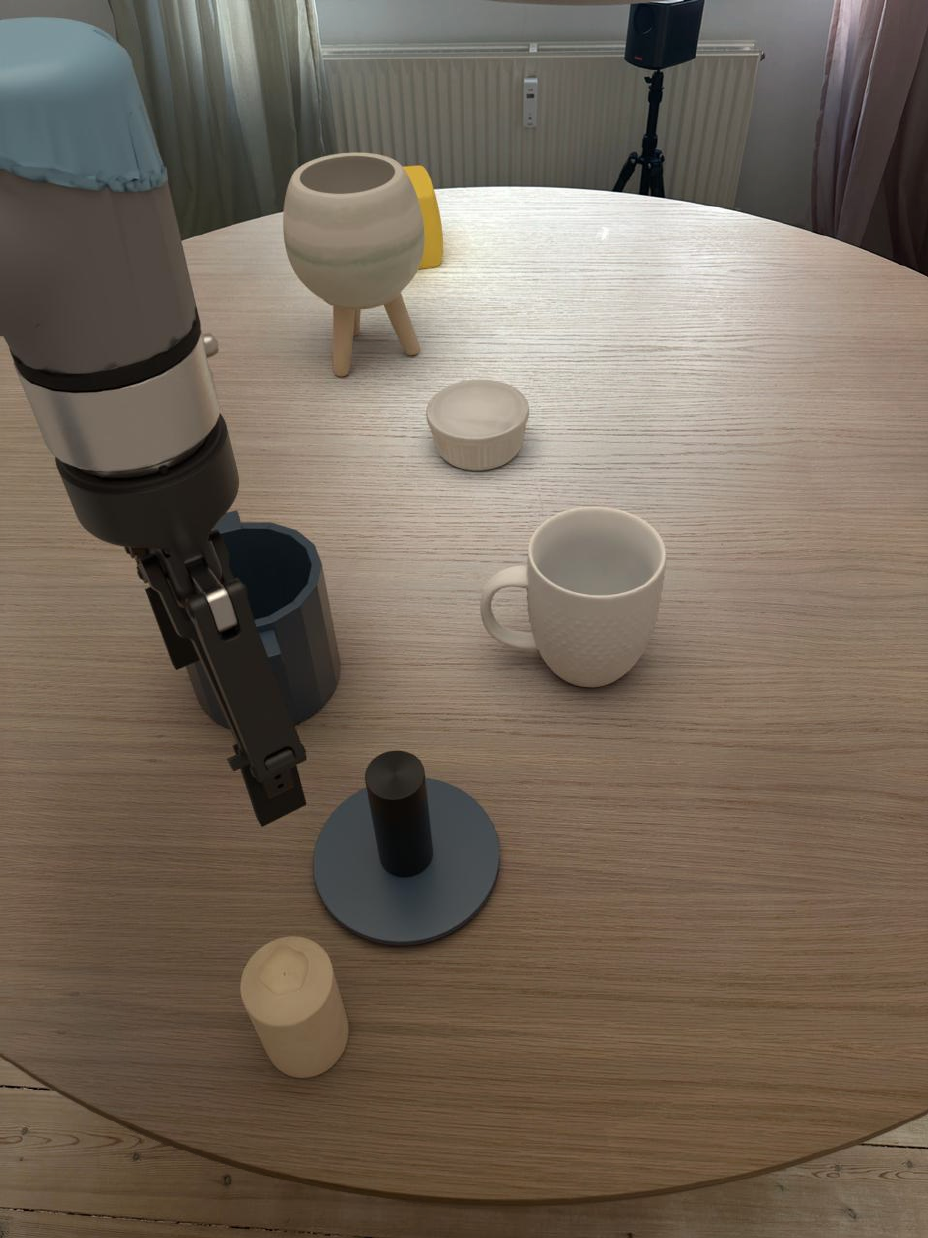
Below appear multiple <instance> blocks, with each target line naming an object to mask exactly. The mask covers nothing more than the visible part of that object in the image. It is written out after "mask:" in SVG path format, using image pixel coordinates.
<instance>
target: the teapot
mask: <svg viewBox="0 0 928 1238" xmlns="http://www.w3.org/2000/svg"><path fill="white" fill-rule="evenodd" d="M402 167H403V168H404V170H405V171H406V173H407V175H408V176H409V178H410V180H411V182H412V184H413V187H414V189H415V192H416V194H417V197H418V201H419V204H420V207H421V212H422V216H423V223H424V232H425V243H424V252H423V257H422V260H421V263H420V266H419V268H418V270H423V269H431V268H437V267H439V266H440V265H441V263H442V259H443V253H444V235H443V234H444V233H443V225H442V218H441V213H440V208H439V203H438V200H437V195H436V192H435V188H434V185H433V181H432V178H431V177H430V175H429V173H428V170H427V169H426V168H425V167H424V166H422V165H408V166H406V165H405V166H402Z"/></svg>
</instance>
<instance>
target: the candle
mask: <svg viewBox="0 0 928 1238" xmlns="http://www.w3.org/2000/svg"><path fill="white" fill-rule="evenodd" d="M239 987H240V996H241V1000H242V1003H243V1005H244V1008H245V1009H246V1012H247V1014H248V1017H249V1019H250V1021H251V1023H252V1024H253V1027H254V1029H255V1032H256V1033H257V1035H258V1038H259V1040H260V1042H261V1044H262V1046H263V1048H264V1051H265V1053H266V1054H267V1057H268V1058H269V1060H270V1062H271V1063H272V1065H273V1066H275V1068H276V1069H277V1070H279V1071H280V1072H281V1073H283V1074H285V1075H287V1076H289V1077H292V1078H297V1079H308V1078H313V1077H317V1076H319V1075H321V1074H323V1073H326V1072H327V1071H329V1070H330V1069H331V1068H332V1067H333V1066H334V1065H335V1064H337V1062H338V1061H339V1060H340V1058H341V1057H342V1055H343V1054H344V1052H345V1049H346V1047H347V1044H348V1040H349V1031H350V1030H349V1029H350V1028H349V1020H348V1016H347V1012H346V1009H345V1005H344V1002H343V998H342V996H341V992H340V989H339V986H338V981H337V978H336V975H335V972H334V968H333V964H332V961H331V959H330V956H329V955H328V953H327V952H326V951H325V949H324V948H323V947H322V946H321V945H320V944H318V943H317V942H315V941H314V940H312V939H309V938H306V937H302V936H298V935H297V936H295V935H294V936H291V935H290V936H283V937H279V938H276V939H273V940H271V941H269V942H268V943H266V944H264V945H263V946H262V947H260V948H259V949H258V950H256V952H255V953H253V955H252V956H251V957H250V959H248V962H247V963H246V964H245V967H244V969H243V971H242V974H241V979H240V986H239Z"/></svg>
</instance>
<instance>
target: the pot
mask: <svg viewBox="0 0 928 1238" xmlns="http://www.w3.org/2000/svg"><path fill="white" fill-rule="evenodd" d="M215 529H218V531H219V532H220V534H221V536H222V538H223V540H224V542H225V545H226V547H227V549H228V552H229V554H230V561H229V567H230V570H231V572H232V574H233V577H234V579H236V578H238V579H240V580H241V582H242V584H244V585H245V586H246V588H247V591H248V594H247V597H248V600H249V604H250V607H251V610H252V614H253V617H254V620H255V624H256V627H257V629H258V632H259V635H260V637H261V640H262V642H263V645H264V648H265V650H266V653H267V656H268V658H269V661H270V663H271V666H272V669H273V671H274V674H275V676H276V679H277V682H278V684H279V687H280V689H281V692H282V695H283V697H284V700H285V703H286V705H287V708H288V710H289V713H290V716H291V718H292V721H293V723H294V726H295V727H296V725H299V724H301V723H303V722H305V721H306V720H308V719H309V718H311V717H312V716H314V715H315V714H317V713H318V712H320V711H321V709H322V708H323V707H324V706H326V704H327V703H328V702H329V701H330V699H331V698H332V696H333V695H334V693H335V691H336V689H337V686H338V684H339V680H340V674H341V658H340V654H339V653H340V652H339V647H338V643H337V638H336V633H335V627H334V622H333V617H332V610H331V606H330V605H331V604H330V600H329V594H328V588H327V583H326V577H325V572H324V568H323V563H322V560H321V557H320V555H319V552H318V549H317V547H316V545H315V543H314V542H312V541H311V540H310V539H308V538H307V537H306V536H305V535H303V534H302V533H301V532H300V531H299V530H297V529H294V528H291V527H288V526H285V525H281V524H278V523H275V522H269V521H268V522H267V521H266V522H264V521H263V522H260V521H259V522H258V521H255V522H254V521H242V520H241V518H240V515H239V511H238V510H231V511H227V512H226V514H225V515H224V516H223V517H222V518H221V519H220V520H219V521H218V522H217V524H216V525H215V526H214V528H213V529H212V530H215ZM185 669H186V671H187V674H188V678H189V680H190V683H191V686H192V688H193V691H194V694H195V697H196V701H197V703H198V704H199V705H200V706H201V709H202V710H203V711H204V713H205V714H206V715H207V716H208V717H209V718H210V719H211V720H212V721H214V722H215V723H217V724H219V726H222V727H224V728H226V729H229V730H231V729H230V727H229V725H228V722H227V720H226V718H225V715H224V713H223V711H222V709H221V706H220V704H219V702H218V700H217V697H216V695H215V693H214V691H213V688H212V686H211V684H210V682H209V679H208V677H207V675H206V672H205V670H204V668H203V666H202V663H201V661H200V660H199V661H197V662H194V663H192V664H190V665H187V666H185Z"/></svg>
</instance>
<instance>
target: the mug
mask: <svg viewBox="0 0 928 1238" xmlns="http://www.w3.org/2000/svg"><path fill="white" fill-rule="evenodd" d="M526 558H527V559H526V560H527V563H526V565H524V564H523V565H515V566H510V567H507V568H504V569H502V570H499V571H498V572H496V573H495V574H494V575H493V576H492V577H491V578H490V579H489V580H488V581H487V583H486V585H485V587H484V588H483V591H482V594H481V597H480V607H479V610H480V617H481V621H482V625H483V627H484V628H485V630H486V632H487V633H488V635H490V636H491V637H492V638H493V639H494V640H495V641H496V642H499V643H501V644H503V645H505V646H509V647H513V648H517V649H522V650H523V649H524V650H531V651H538V652H539V653H540V656H541V658H542V659H543V661H544V663H545V664H546V666H548V667H549V669H550V670H551V671H552V672H553V673H554V674H555V675H556V676H558V677H559V678H560V679H561V680H563V681H564V682H567V683H569V684H572V685H574V686H577V687H583V688H598V687H603V686H606V685H610V684H611V683H614V682H616V681H618V680H619V679H620V678H622V677H624V675H625V674H627V673H628V672H629V671H630V670H631V669H632V668H633V667H634V666H635V665H636V664H637V662H638V661H639V659H641V657H642V655H643V653H644V652H645V651H646V650H647V646H648V644H649V643H650V642H651V638H652V635H653V633H654V631H655V626H656V625H657V621H658V615H659V611H660V604H661V603H662V594H663V589H664V582H665V581H664V580H665V572H666V567H667V549H666V546H665V543H664V540H663V538H662V537H661V535H660V534H659V532H658V531H657V530H656V528H655V527H654V526H653V525H651V524H650V523H649V522H648V521H646V520H645V519H643V518H641V517H639V516H637V515H635V514H633V513H631V512H628V511H625V510H622V509H618V508H613V507H607V506H579V507H574V508H570V509H569V508H568V509H566V510H564V511H561V512H558V513H556V514H554V515H552V516H550V517H548V518H547V519H546V520H544V521H543V522H542V523H540V524H539V525H538V527H537V528H536V529H535V530H534V531H533V533H532V534H531V537H530V539H529V542H528V545H527V557H526ZM512 587H513V588H521V589H526V601H527V614H528V622H529V625H530V631H519V630H515V629H510V628H508V627H505V626H503V625H502V624H500V623H499V621H497V619H496V618H495V615H494V613H493V610H492V601H493V599H494V597H495V595H496V594H497V592H499V591H500V590H502V589H505V588H512Z"/></svg>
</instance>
